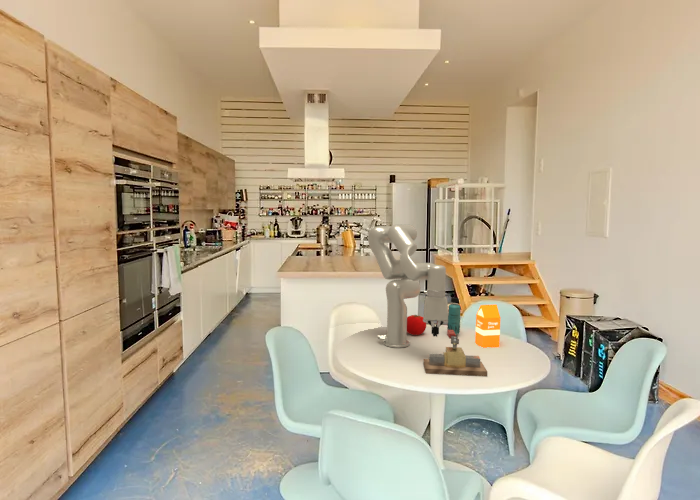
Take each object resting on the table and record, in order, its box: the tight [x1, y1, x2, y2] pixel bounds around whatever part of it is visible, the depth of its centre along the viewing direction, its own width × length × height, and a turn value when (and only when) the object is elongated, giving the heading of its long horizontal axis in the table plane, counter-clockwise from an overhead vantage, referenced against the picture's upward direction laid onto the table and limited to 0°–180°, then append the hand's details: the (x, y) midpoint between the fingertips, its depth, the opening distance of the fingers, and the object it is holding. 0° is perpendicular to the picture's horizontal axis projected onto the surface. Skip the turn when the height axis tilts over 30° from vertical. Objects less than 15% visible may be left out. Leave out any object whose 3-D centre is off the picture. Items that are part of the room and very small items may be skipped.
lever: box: [446, 329, 460, 346], centre depth 186 cm, size 3×16×3 cm, turn 175°
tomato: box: [407, 314, 427, 336], centre depth 233 cm, size 12×12×10 cm
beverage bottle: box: [446, 297, 462, 335], centre depth 230 cm, size 6×7×20 cm
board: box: [422, 358, 488, 377], centre depth 180 cm, size 24×12×2 cm, turn 85°
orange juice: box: [474, 304, 502, 349], centre depth 214 cm, size 8×9×20 cm
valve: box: [428, 344, 481, 368], centre depth 180 cm, size 20×6×9 cm, turn 85°
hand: (435, 335), depth 191 cm, fingers closed
